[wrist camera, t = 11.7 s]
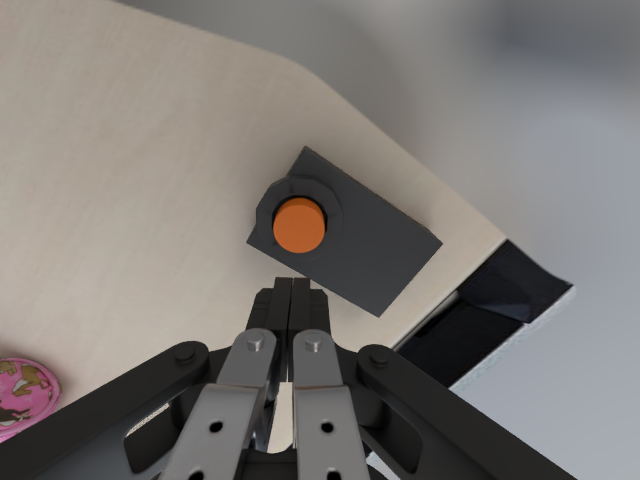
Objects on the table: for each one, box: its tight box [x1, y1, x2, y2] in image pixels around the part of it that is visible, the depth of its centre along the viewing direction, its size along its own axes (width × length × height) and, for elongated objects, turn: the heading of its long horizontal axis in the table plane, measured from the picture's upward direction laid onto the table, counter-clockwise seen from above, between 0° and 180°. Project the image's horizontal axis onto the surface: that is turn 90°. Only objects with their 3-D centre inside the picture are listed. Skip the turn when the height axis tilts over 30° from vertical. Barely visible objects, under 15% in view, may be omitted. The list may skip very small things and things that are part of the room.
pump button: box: [273, 198, 325, 253], centre depth 22 cm, size 4×4×2 cm
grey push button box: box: [246, 146, 443, 318], centre depth 26 cm, size 15×9×5 cm, turn 56°
